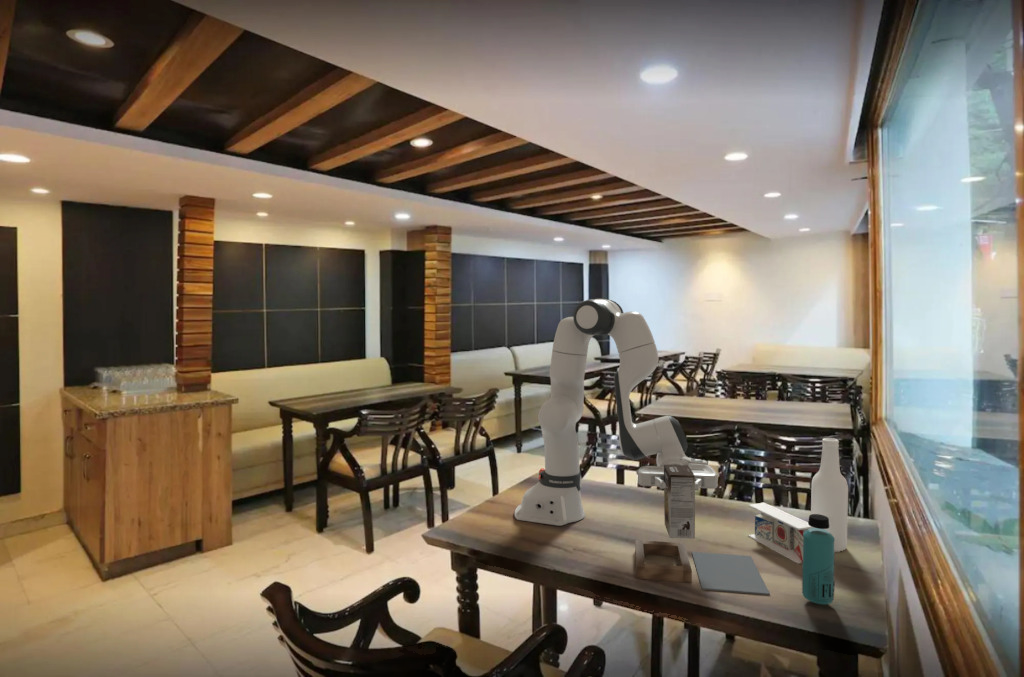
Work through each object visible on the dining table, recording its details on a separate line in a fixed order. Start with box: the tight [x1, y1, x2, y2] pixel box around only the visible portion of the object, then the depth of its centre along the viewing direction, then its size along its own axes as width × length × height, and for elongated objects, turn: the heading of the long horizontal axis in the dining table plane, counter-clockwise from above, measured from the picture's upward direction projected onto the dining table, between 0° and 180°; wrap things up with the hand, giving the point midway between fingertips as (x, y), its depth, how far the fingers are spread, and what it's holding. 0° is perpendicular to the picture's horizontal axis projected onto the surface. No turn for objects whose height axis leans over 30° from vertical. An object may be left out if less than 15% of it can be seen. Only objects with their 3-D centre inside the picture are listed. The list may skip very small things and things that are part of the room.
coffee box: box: [663, 465, 696, 540], centre depth 144 cm, size 9×6×16 cm
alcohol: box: [810, 437, 849, 553], centre depth 156 cm, size 9×9×30 cm
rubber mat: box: [691, 551, 771, 596], centre depth 142 cm, size 15×20×1 cm
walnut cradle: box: [634, 539, 693, 584], centre depth 146 cm, size 13×16×3 cm
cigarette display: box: [747, 501, 814, 564], centre depth 155 cm, size 20×6×9 cm, turn 18°
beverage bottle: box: [801, 513, 836, 605], centre depth 126 cm, size 6×7×20 cm
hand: (679, 486), depth 143 cm, fingers closed on coffee box, 6 cm apart
